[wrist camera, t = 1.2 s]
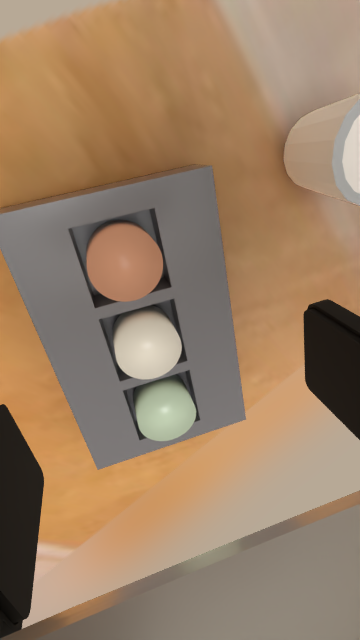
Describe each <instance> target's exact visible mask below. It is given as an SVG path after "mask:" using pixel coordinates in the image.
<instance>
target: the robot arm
mask: <svg viewBox="0 0 360 640" xmlns="http://www.w3.org/2000/svg"><path fill="white" fill-rule="evenodd" d="M304 352H305V381H306V384H307V386H308V388H309V389H310V391H311V392H312V393H313V394H314V395H315V396H316V397H317V398H318V399H319V400H320V401H321V402H322V403H323V404H324V405H325V406H326V407H327V408H328V409H329V410H330V411H331V412H332V413H333V414H334V415H335V416H336V417H337V418H338V419H339V420H340V421H342V423H343V424H345V426H346V427H347V428H348V429H349V430H350V431H351V432H352V433H353V434H354V435H355V436H356V437H357V438H358V439H359V440H360V317H359V316H358V315H356V314H354V313H352V312H350V311H349V310H347V309H345V308H343V307H342V306H340V305H338V304H336V303H334V302H333V301H331V300H328V299H327V300H323V301H320V302H316V303H313V304H310V305H309V306H308V309H307V310H306V311H305V312H304ZM43 487H44V477H43V472H42V470H41V468H40V466H39V464H38V462H37V460H36V459H35V457H34V455H33V453H32V451H31V450H30V448H29V446H28V444H27V442H26V441H25V439H24V437H23V435H22V433H21V432H20V430H19V428H18V426H17V424H16V423H15V421H14V419H13V417H12V415H11V414H10V412H9V410H8V408H7V407H6V406H5V405H4V404H2V405H0V640H360V491H357V492H355V493H352V494H350V495H347V496H345V497H342V498H340V499H337V500H335V501H332V502H330V503H327V504H325V505H322V506H320V507H317V508H315V509H312V510H310V511H307V512H305V513H303V514H300V515H297V516H295V517H292V518H290V519H288V520H285V521H283V522H280V523H278V524H275V525H273V526H270V527H268V528H265V529H263V530H261V531H258V532H255V533H253V534H251V535H248V536H245V537H243V538H241V539H238V540H236V541H233V542H231V543H228V544H226V545H223V546H221V547H218V548H216V549H213V550H211V551H209V552H206V553H204V554H201V555H199V556H196V557H194V558H191V559H189V560H186V561H184V562H182V563H179V564H177V565H175V566H172V567H169V568H167V569H165V570H162V571H160V572H157V573H155V574H152V575H150V576H148V577H145V578H143V579H140V580H138V581H135V582H133V583H131V584H128V585H126V586H123V587H121V588H118V589H116V590H113V591H111V592H109V593H106V594H104V595H101V596H99V597H96V598H94V599H92V600H89V601H87V602H84V603H82V604H79V605H77V606H75V607H72V608H70V609H68V610H65V611H63V612H61V613H58V614H56V615H54V616H51V617H49V618H47V619H44V620H42V621H40V622H38V623H35V624H33V625H30V626H28V627H26V628H23V629H22V621H23V620H24V619H26V618H27V617H28V616H29V613H30V608H31V599H32V590H33V581H34V571H35V562H36V553H37V543H38V534H39V524H40V515H41V506H42V496H43Z"/></svg>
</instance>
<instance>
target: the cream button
mask: <svg viewBox="0 0 360 640" xmlns="http://www.w3.org/2000/svg"><path fill="white" fill-rule="evenodd" d="M112 337H113V343H114V350H115V356H116V360H117V363H118V365H119V367H120V368H121V369H122V371H123V372H125V373H126V374H127V375H129V376H131V377H133V378H137V379H154V378H157V377H160V376H162V375H164V374H166V373H167V372H169V371H170V370H171V369H172V368H173V367H174V366H175V365H176V363H177V362H178V360H179V358H180V355H181V350H182V345H181V340H180V337H179V335H178V333H177V331H176V330H175V328H174V326H173V324H172V322H171V320H170V318H169V317H168V315H167V314H166V313H165V312H164V311H163V310H161V309H160V308H158V307H155V306H152V305H149V306H146V307H142V308H138V309H135V310H131V311H128V312H124V313H122V314H121V315H120V316H119V317H118V318H117V320H116V322H115V324H114V326H113V331H112Z"/></svg>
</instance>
